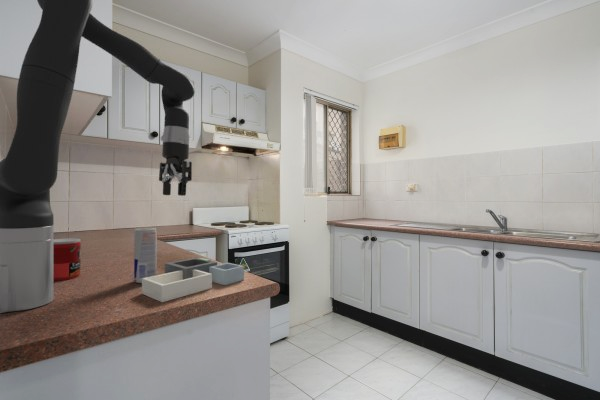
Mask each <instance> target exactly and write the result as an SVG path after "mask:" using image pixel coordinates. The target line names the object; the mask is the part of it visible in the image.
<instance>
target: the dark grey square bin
mask: <svg viewBox="0 0 600 400" xmlns="http://www.w3.org/2000/svg"><path fill="white" fill-rule="evenodd" d="M216 265H218V262H216V261H212V260H211V259H207V258H203V257H201V258H199V257H193V258H187V259H182V260H181V259H180V260H176V261H170V262H164V274H166V273H170V272H175V271H180V270H182V271H183V280H184V279H188V278H193V270H195V269H196V270H200V271H203V272H207V273H209V267H211V266H216Z"/></svg>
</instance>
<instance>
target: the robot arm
mask: <svg viewBox="0 0 600 400" xmlns="http://www.w3.org/2000/svg"><path fill="white" fill-rule="evenodd" d="M37 4H38V6H39V8H40V9H41V10H42V13H41V17H40V21H39V25H38V27H37V29H36V31H35V33H34V35H33V37H32V39H31V41H30V43H29V46H28V48H27V50H26V53H25V55H24V59H23V61H22V64H21V68H20V73H19V76H18V77H19V78H18V82H17V90H16V119H17V120H16V128H15V131H14V135H13V137H12V141H11V144H10V147H9V149H8V152H7V154H6V156H5V158H3V159H2V160H1V161H0V314H3V313H8V312H18V311H19V312H20V311H26V310H30V309H35V308H39V307H42V306H45V305H48V304H50V303H51V302H53V301H54V292H55V290H54V281H53V239H54V221H55V220H54V213H53V210H52V206H51V191H50V189H51V188H52V187H53V186H54V185H55V183H56V181H57V178H58V168H59V154H60V141H61V137H62V132H63V129H64V126H65V123H66V119H67V116H68V112H69V108H70V105H71V101H72V96H73V91H74V88H75V87H74V86H75V83H76V82H75V81H76V76H77V74H76V73H77V70H78V64H79V63H78V62H79V55H80V47H81V40H82V38H84V39H85V40H87V41H89V42H90V43H92V44H94V45H95V46H97V47H99V48H100V49H102V50H103V51H104V52H106V53H108V54H110V55H111V56H112V57H114V58H115V59H117V60H118V61H120V62H121V63H123V64H124V65H126V66H127V67H128V68H129V69H130V70H132V71H133V72H135V73H136V74H137V75H138V76H140V77H141V78H143V79H144V80H145V81H147V82H148V83H150V84H152V85H153V84H155V85H161V87H162V89H161V101H162V107H163V110H164V121H163V122H164V125H163V126H164V128H163V132H162V133H163V134H162V151H161V152H162V155H161V157H163V158H165V159H166V161H165V162H160V163H159V173H158V181H159V182H161V183H162V195H163V196H171V189H172V188H171V187H172V180H173V179H175V178H176V179H177V182H178V184H177V185H178V187H177V195H178V196H180V197H181V196H185V197H186V195H187V184H188V183H189V182H192V175H193V171H192V170H193V169H192V167H193V166H192V165H193V163H192V161H191V160H189V157H190V155H189V154H190V149H189V148H190V131H189V130H190V115H189V112H188V111H187V110H185V109H184V105H183V104H184V102H186V101H189V100H191V99H193V97H194V96H195V92H196V90H195V86H194V84H193V83H192V81H191V80H190V79H189V77H187V76H186V75H185V74H183V73H181V72H180V71H178V70H177V69H175V68H173V67H172V66H169V65H167V64H165V63H164V62H162V60H160V59H159V58H158V57H157V56H156V55H154V54H153V53H151V51H149V50H148V49H147V48H145V46H143V45H141V44H140V43H138V42H137V41H135V40H133V39H131V38H129V37H127V36H125V35H123V34H121V33H119V32H117V31H115V30H113V29H111V28H110V27H108V26H107V25H105V24H104V23H103V22H101V21H100V20H99V19H97V18H96V17H95V16H94V15H93V14H92V13H91V11H92V10H93V9H92V8H93V0H37Z"/></svg>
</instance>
